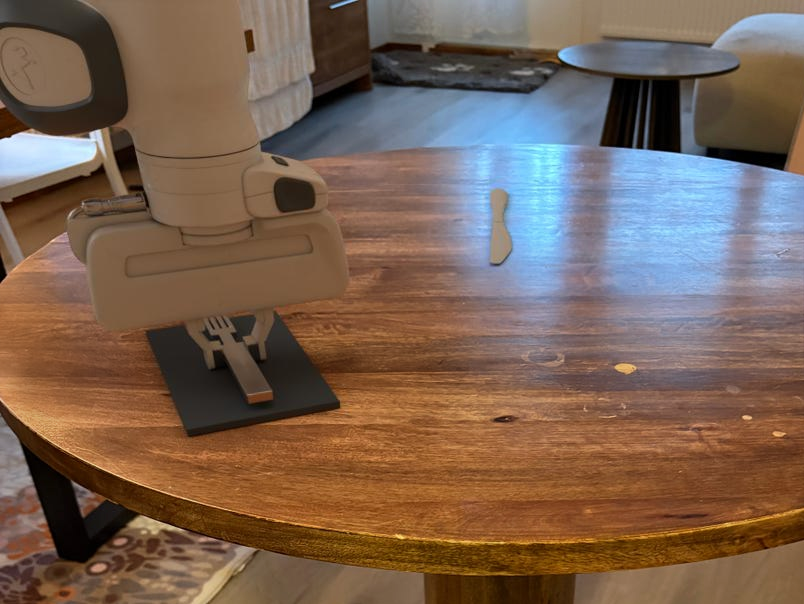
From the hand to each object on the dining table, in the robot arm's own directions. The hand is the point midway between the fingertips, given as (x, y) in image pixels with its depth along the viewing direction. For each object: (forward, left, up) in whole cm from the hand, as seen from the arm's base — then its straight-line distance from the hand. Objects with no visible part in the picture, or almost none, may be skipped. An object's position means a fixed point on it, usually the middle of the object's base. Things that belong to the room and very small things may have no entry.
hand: (236, 362), depth 77 cm
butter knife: (-6, +45, -1) cm, 45 cm away
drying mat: (0, 0, -1) cm, 1 cm away
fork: (0, 0, 0) cm, 1 cm away
